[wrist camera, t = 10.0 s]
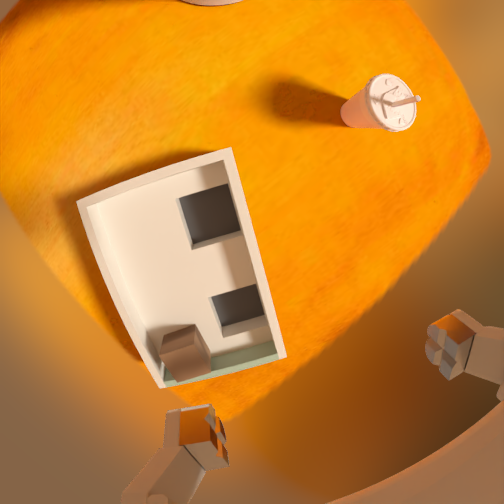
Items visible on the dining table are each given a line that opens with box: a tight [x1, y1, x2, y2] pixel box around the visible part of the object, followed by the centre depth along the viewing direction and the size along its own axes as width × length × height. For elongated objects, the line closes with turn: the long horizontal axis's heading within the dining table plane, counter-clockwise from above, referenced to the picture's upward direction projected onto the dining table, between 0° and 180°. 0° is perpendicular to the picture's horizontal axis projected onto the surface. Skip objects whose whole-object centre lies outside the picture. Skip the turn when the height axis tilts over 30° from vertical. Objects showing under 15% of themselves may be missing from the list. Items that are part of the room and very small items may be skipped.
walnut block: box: [159, 324, 211, 383], centre depth 33 cm, size 4×4×4 cm
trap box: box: [76, 147, 287, 388], centre depth 33 cm, size 25×17×6 cm
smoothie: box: [340, 74, 421, 132], centre depth 26 cm, size 6×6×14 cm
